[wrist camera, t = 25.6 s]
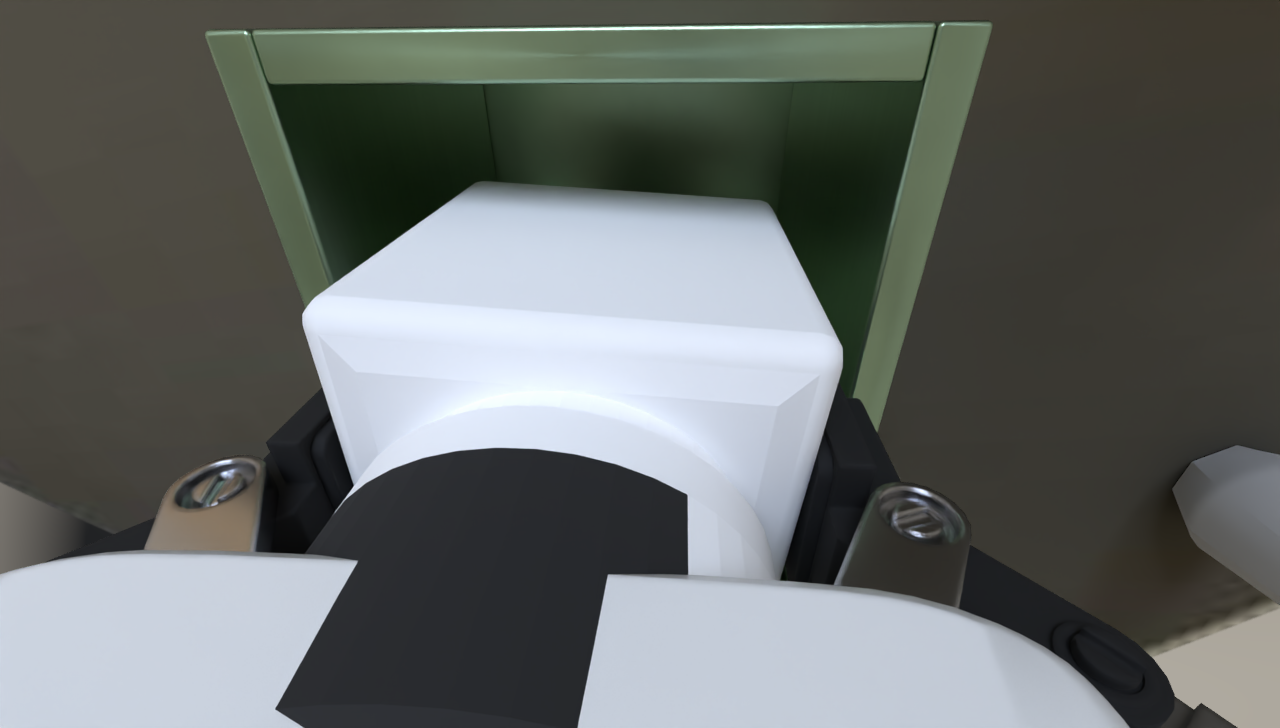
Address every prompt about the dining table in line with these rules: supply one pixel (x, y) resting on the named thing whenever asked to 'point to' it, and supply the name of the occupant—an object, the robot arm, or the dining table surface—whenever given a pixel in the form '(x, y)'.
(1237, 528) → the salt shaker
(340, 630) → the medicine bottle
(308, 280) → the bin
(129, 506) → the dining table surface
